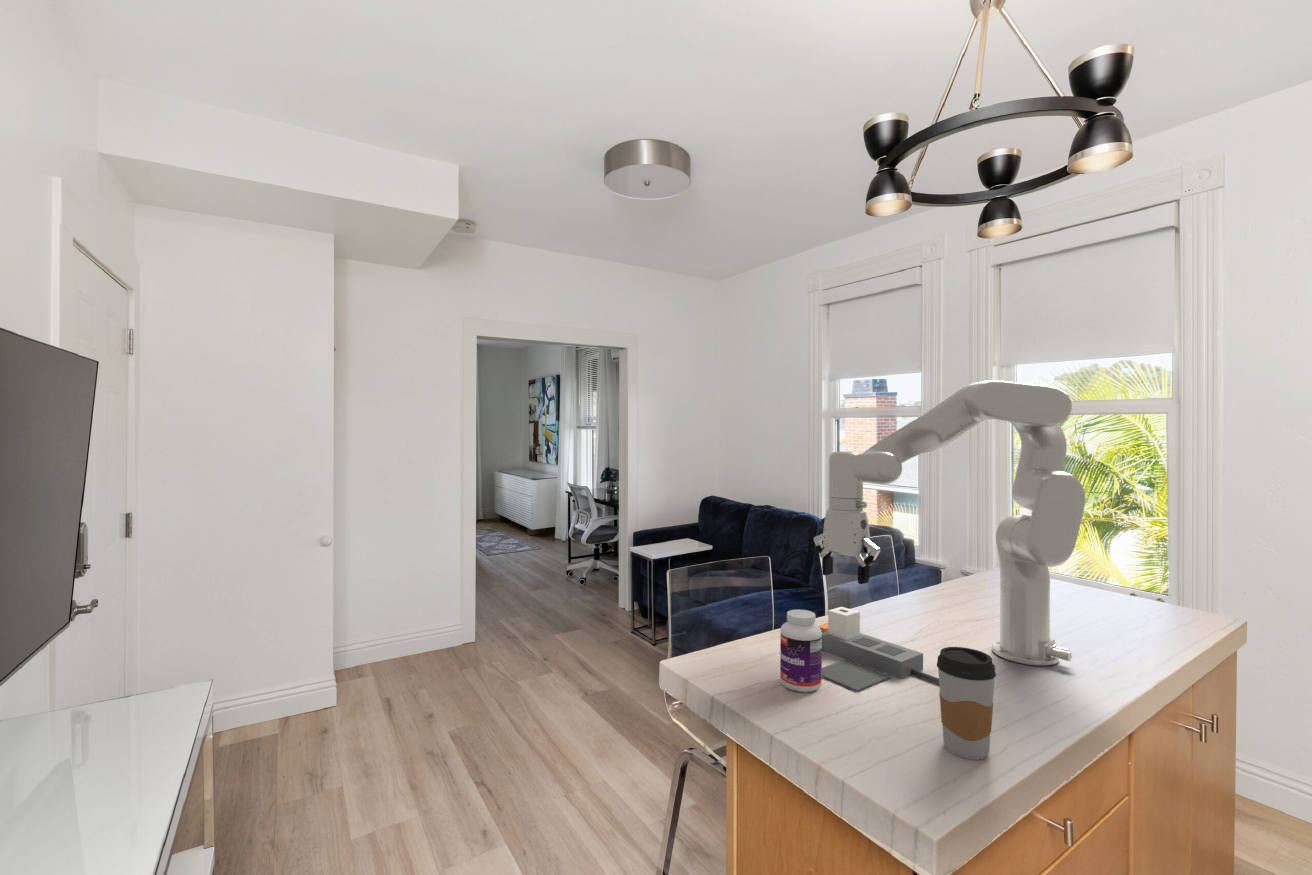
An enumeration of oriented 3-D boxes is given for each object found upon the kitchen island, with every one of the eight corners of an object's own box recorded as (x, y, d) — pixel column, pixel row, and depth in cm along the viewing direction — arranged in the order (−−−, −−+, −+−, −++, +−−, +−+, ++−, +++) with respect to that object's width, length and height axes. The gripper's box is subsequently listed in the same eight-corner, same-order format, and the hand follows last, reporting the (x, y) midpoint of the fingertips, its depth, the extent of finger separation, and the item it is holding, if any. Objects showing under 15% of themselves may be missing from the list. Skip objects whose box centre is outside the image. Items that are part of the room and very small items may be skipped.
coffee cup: (989, 740, 94) (989, 648, 94) (1002, 768, 86) (1002, 668, 86) (933, 732, 97) (933, 643, 97) (940, 758, 89) (940, 661, 89)
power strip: (981, 689, 113) (981, 668, 112) (960, 700, 108) (960, 678, 108) (830, 637, 142) (830, 620, 142) (808, 644, 137) (808, 626, 137)
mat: (890, 678, 118) (890, 676, 118) (857, 692, 112) (857, 690, 112) (845, 661, 127) (845, 659, 127) (812, 673, 121) (812, 671, 121)
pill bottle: (771, 683, 116) (771, 612, 116) (797, 673, 121) (797, 604, 121) (804, 698, 109) (804, 622, 109) (830, 686, 114) (830, 614, 114)
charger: (859, 635, 133) (859, 611, 133) (846, 639, 130) (846, 615, 130) (841, 629, 137) (841, 605, 137) (828, 633, 135) (828, 609, 135)
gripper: (889, 507, 128) (888, 584, 129) (825, 500, 142) (824, 569, 143) (869, 510, 124) (868, 589, 124) (805, 502, 138) (804, 573, 138)
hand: (844, 578), depth 133 cm, fingers open, 9 cm apart
